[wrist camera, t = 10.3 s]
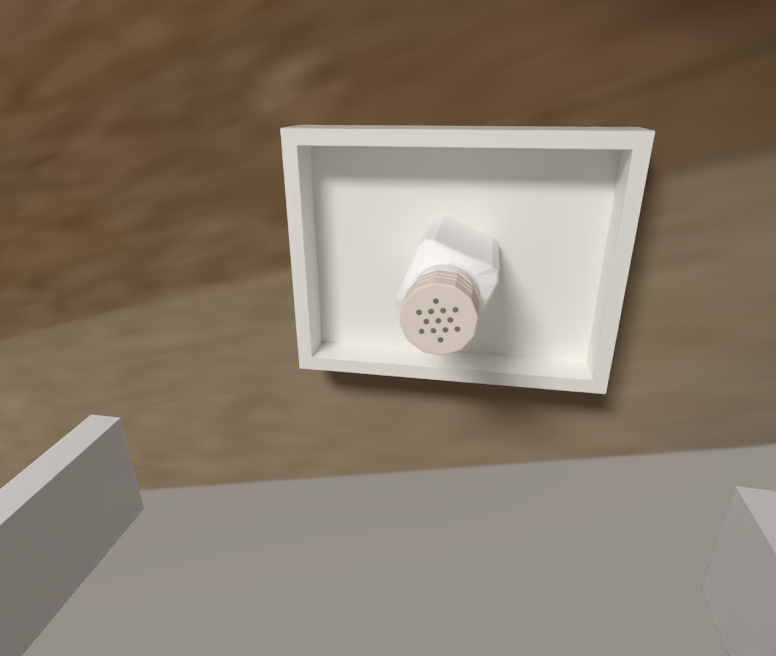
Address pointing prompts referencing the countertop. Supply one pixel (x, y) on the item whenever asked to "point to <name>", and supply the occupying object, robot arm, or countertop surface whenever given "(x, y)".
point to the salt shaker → (447, 286)
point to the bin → (481, 211)
